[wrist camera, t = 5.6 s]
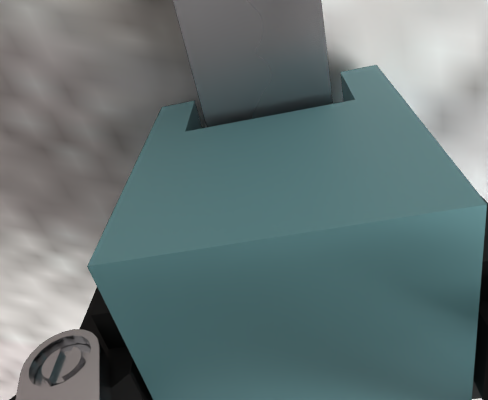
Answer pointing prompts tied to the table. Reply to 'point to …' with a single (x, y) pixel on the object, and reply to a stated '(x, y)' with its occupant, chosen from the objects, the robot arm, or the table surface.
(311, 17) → the rail
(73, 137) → the table surface
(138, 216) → the carriage
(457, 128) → the table surface
